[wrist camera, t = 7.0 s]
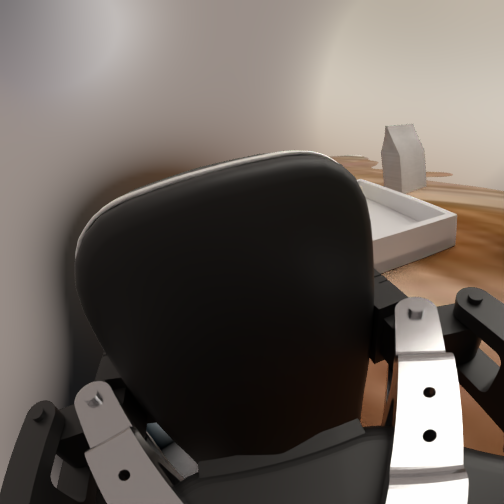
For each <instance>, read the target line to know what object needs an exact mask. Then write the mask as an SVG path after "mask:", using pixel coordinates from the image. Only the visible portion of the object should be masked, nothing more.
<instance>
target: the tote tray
mask: <svg viewBox="0 0 504 504" xmlns="http://www.w3.org/2000/svg"><path fill="white" fill-rule="evenodd" d="M357 182H358V184H359V185H360V186H363V194H364V196H365V198H366V201H367V205H368V210H369V215H370V220H371V228H372V240H373V257H374V268H375V269H376V270H377V271H378V272H379V273H380V274H381V273H384V272H387V271H389V270H392V269H395V268H398V267H400V266H403V265H406V264H409V263H411V262H414V261H417V260H419V259H422V258H424V257H427V256H430V255H432V254H435V253H437V252H440V251H442V250H445V249H447V248H450V247H452V246H455V240H456V226H457V214H454V213H452V212H449V211H447V210H445V209H442V208H440V207H437V206H435V205H432V204H430V203H427V202H425V201H422V200H420V199H417V198H414V197H412V196H409V195H406V194H403V193H401V192H398V191H395V190H392V189H389V188H387V187H384V186H381V185H378V184H375V183H372V182H369V181H365V180H362V179H359V180H357Z"/></svg>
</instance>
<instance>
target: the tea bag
mask: <svg viewBox="0 0 504 504" xmlns="http://www.w3.org/2000/svg"><path fill="white" fill-rule="evenodd" d="M381 157H382V167H383V178H384V187H387V188H389V189H392V190H395V191H398V192H401V193H403V194H406V193H409V192H412V191H414V190H417V189H420V188H423V187H425V186H426V166H425V153H424V148H423V146H422V144H421V142H420V140H419V138H418V135H417V133H416V131H415V128H414V125H413V124H406V125H394V126H386V128H385V138H384V142H383V147H382V151H381Z"/></svg>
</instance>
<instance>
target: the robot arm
mask: <svg viewBox="0 0 504 504" xmlns="http://www.w3.org/2000/svg"><path fill="white" fill-rule="evenodd" d="M481 340H483V341H484V342H485V343H486V344H487V345H489V346H490V347H491V348H492V349H493V350H494V351H495V352H496V353H497V354H498V355H499V357H500V360H501V366H500V367H499V366H498V365H497V364H496V363H495V362H494V361H493V360H492V359H490V358H489V357H488V356H487V355H486V354H485V353H484V352H483V351H482V350H481V349H479V346H480V343H481ZM370 359H371V360H372V361H373V363H374V364H375V363H378V362H380V361H382V360H386V361H387V363H388V367H387V378H386V392H385V403H384V413H383V419H382V424H381V426H368V427H362V425H361V423H360V422H359V420H358V418H357V419H355V420H352V421H350V422H347V423H345V424H342V425H340V426H337V427H334V428H332V429H329V430H326V431H323V432H320V433H319V434H317V435H315V436H314V437H312V438H310V439H308V440H307V441H305V442H303V443H301V444H300V445H298V446H296V447H294V448H292V449H291V450H289V451H287V452H285V453H282V454H277V455H235V456H230V457H225V458H219V459H213V460H206V461H199V462H198V469H199V472H198V473H195V474H193V475H191V476H189V477H187V478H185V479H184V478H183V477H182V476H181V475H180V474H179V473H178V472H177V471H176V469H175V468H174V467H173V466H172V465H171V463H170V462H169V461H168V459H167V458H166V457H165V455H164V454H163V453H162V451H161V450H160V449H159V447H158V446H157V445H156V443H155V442H154V440H153V439H152V438H151V436H150V435H149V434H148V432H147V431H146V428H147V423H155V422H156V421H155V420H154V419H153V418H152V417H151V416H150V414H149V413H148V412H147V411H146V410H145V409H144V407H143V406H142V405H141V404H140V403H139V401H138V400H137V399H136V397H135V396H134V395H133V393H132V392H131V391H130V389H129V388H128V387H127V385H126V384H125V382H124V381H123V379H122V378H121V376H120V375H119V373H118V372H117V370H116V369H115V367H114V366H113V364H112V363H111V361H110V359H109V358H108V356H107V354H106V353H105V351H104V353H103V357H102V359H101V362H100V365H99V368H98V371H97V375H96V378H95V381H94V382H92V383H90V384H88V385H86V386H84V387H83V388H82V389H81V390H80V391H79V392H78V394H77V396H76V398H75V404H74V405H71V406H68V407H65V408H62V409H60V410H58V409H57V408H56V407H55V406H54V404H53V403H52V402H50V401H40V402H38V403H36V404H35V405H34V406H33V407H31V409H30V410H29V411H28V413H27V415H26V418H25V421H24V423H23V425H22V428H21V430H20V433H19V436H18V438H17V441H16V444H15V447H14V450H13V452H12V455H11V458H10V461H9V464H8V468H7V471H6V474H5V478H4V481H3V485H2V489H1V492H0V504H95V501H96V493H97V486H98V487H99V489H100V491H101V493H102V495H103V497H104V499H105V501H106V503H107V504H504V456H500V455H495V454H490V453H486V452H482V451H477V450H473V449H469V448H466V447H463V426H462V411H461V400H460V391H459V383H460V384H461V386H462V387H463V388H464V389H465V390H466V391H467V392H468V393H469V394H470V395H471V396H472V397H473V398H474V400H475V401H476V402H477V403H478V404H479V405H480V406H481V407H482V408H483V409H484V411H485V412H486V413H487V414H488V415H489V416H490V417H491V418H492V420H493V421H494V422H495V423H496V424H497V425H498V426H499V428H500V429H501V430H502V431H503V432H504V304H503V303H502V302H500V301H499V300H497V299H496V298H494V297H493V296H492V295H490V294H489V293H487V292H486V291H484V290H482V289H479V288H475V287H468V288H463V289H461V290H460V291H459V292H458V293H457V295H456V300H455V304H450V305H444V306H439V307H436V306H435V304H434V303H432V302H431V301H430V300H428V299H425V298H421V297H409V298H408V297H407V296H406V295H405V294H404V293H403V292H401V291H400V290H399V289H398V288H397V287H396V286H395V285H393V284H392V283H391V282H390V281H388V280H387V279H386V278H385V277H384V276H383V275H381V274H380V273H379V272H378V271H377V270H376V269H375V268H374V316H373V330H372V340H371V349H370ZM458 382H459V383H458ZM503 452H504V445H503ZM56 454H57V455H58V456H59V457H60V458H61V459H63V463H62V467H61V472H60V476H59V480H58V485H57V488H55V487H54V486H53V484H52V482H51V478H50V475H51V470H52V466H53V462H54V458H55V455H56Z"/></svg>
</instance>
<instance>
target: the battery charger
mask: <svg viewBox="0 0 504 504" xmlns="http://www.w3.org/2000/svg"><path fill="white" fill-rule="evenodd" d="M96 219H97V221H96ZM95 221H96V222H95ZM94 222H95V223H94ZM93 223H94V224H93ZM75 287H76V289H77V293H78V296H79V299H80V302H81V305H82V307H83V310H84V313H85V315H86V317H87V319H88V321H89V323H90V325H91V327H92V329H93V331H94V333H95V334H96V337H97V338H98V340H99V342H100V344H101V346H102V347H103V349H104V351H105V353H106V354H107V356H108V358H109V359H110V361H111V363H112V364H113V366H114V367H115V369H116V370H117V372H118V373H119V375H120V376H121V378H122V379H123V381H124V382H125V384H126V385H127V387H128V388H129V389H130V391H131V392H132V393H133V395H134V396H135V397H136V399H137V400H138V401H139V403H140V404H141V405H142V406H143V407H144V409H145V410H146V411H147V412H148V413H149V414H150V416H151V417H152V418H153V419H154V420H155V421H156V422H157V424H158V425H159V426H160V427H161V428H162V429H163V430H164V431H165V432H166V433H167V434H168V435H169V436H170V437H171V438H172V439H173V440H174V441H175V442H176V443H177V444H178V445H179V446H180V447H181V448H182V449H183V450H184V451H185V452H186V453H187V454H188V455H189V456H190V457H191V458H192V459H193V460H194V461H195V462H196V463H197V464H198V462H199V461H206V460H213V459H219V458H225V457H230V456H235V455H277V454H282V453H285V452H287V451H289V450H291V449H292V448H294V447H296V446H298V445H300V444H301V443H303V442H305V441H307V440H308V439H310V438H312V437H314V436H315V435H317V434H319V433H320V432H323V431H326V430H329V429H332V428H334V427H337V426H340V425H342V424H345V423H347V422H350V421H352V420H355V419H357V418H358V420H359V422H360V419H361V411H362V401H363V394H364V388H365V382H366V377H367V371H368V364H369V357H370V349H371V340H372V330H373V316H374V257H373V240H372V228H371V220H370V215H369V210H368V205H367V201H366V198H365V196H364V194H363V192H362V190H361V188H360V186H359V184H358V182H357V180H356V178H355V177H354V176H353V175H352V174H351V173H350V172H349V171H348V170H347V169H345V168H344V167H343V166H342V165H341V164H339V163H338V162H336V161H335V160H333V159H332V158H330V157H328V156H326V155H323V154H321V153H317V152H312V151H296V150H290V151H280V152H274V153H269V154H258V155H253V156H248V157H243V158H238V159H234V160H229V161H225V162H221V163H216V164H212V165H208V166H203V167H199V168H196V169H193V170H190V171H186V172H183V173H180V174H177V175H174V176H171V177H168V178H165V179H162V180H159V181H156V182H153V183H151V184H148V185H145V186H142V187H140V188H137V189H135V190H133V191H131V192H129V193H127V194H125V195H123V196H121V197H119V198H117V199H115V200H114V201H112V202H110V203H109V204H107V205H106V206H104V207H103V208H102V209H101V210H100V211H99V212H97V213H96V214H95V215H94V216H93V217H92V218H91V220H90V221H89V222H88V224H87V225H86V226H85V228H84V229H83V231H82V233H81V235H80V237H79V239H78V243H77V248H76V255H75Z"/></svg>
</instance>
